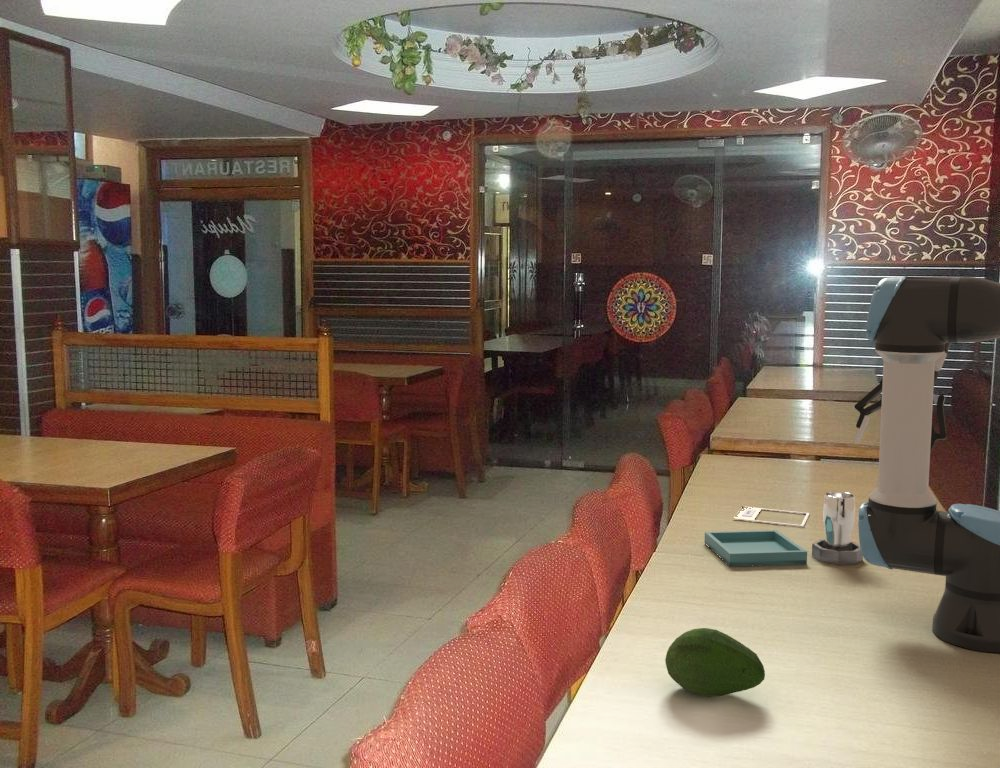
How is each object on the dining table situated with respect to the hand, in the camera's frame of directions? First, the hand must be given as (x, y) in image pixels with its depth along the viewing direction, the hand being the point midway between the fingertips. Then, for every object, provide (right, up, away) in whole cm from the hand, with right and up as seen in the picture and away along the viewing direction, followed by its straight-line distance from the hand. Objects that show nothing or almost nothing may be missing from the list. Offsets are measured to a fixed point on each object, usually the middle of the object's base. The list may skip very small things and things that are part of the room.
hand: (886, 454), depth 210 cm
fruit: (-54, -33, -65) cm, 90 cm away
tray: (-28, -24, +9) cm, 38 cm away
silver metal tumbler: (-9, -25, +5) cm, 27 cm away
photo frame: (-14, -21, +42) cm, 49 cm away
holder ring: (-9, -25, +5) cm, 27 cm away
